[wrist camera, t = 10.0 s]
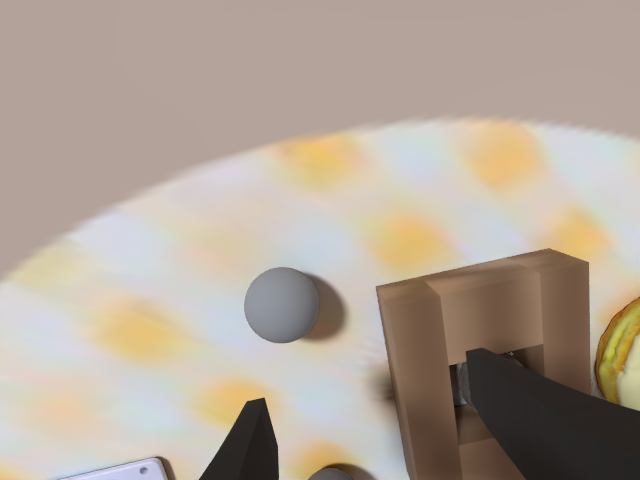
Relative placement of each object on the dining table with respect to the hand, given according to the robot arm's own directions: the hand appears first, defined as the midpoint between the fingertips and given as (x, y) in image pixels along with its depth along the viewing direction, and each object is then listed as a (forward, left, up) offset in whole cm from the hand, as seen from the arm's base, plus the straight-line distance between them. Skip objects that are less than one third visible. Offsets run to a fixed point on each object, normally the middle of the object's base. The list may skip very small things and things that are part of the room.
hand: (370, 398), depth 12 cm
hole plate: (+8, -7, -9) cm, 14 cm away
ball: (-3, +1, -7) cm, 8 cm away
